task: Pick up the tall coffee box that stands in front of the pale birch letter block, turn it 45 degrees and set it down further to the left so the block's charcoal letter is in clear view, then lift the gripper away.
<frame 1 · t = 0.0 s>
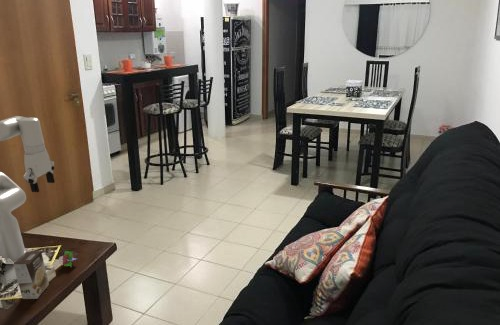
hand: (43, 187, 167), 37 cm above the table, tool pointing down, fingers open, 9 cm apart
letter block: (47, 278, 168), on the table
geometric puzzle: (69, 265, 177), on the table
coffee box: (36, 292, 160), on the table
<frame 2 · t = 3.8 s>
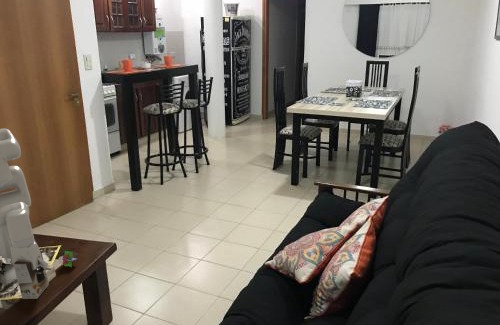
hand: (33, 279, 158), 6 cm above the table, tool pointing down, fingers closed on coffee box, 7 cm apart
coffee box: (36, 292, 160), on the table, touching gripper
everything else where it was.
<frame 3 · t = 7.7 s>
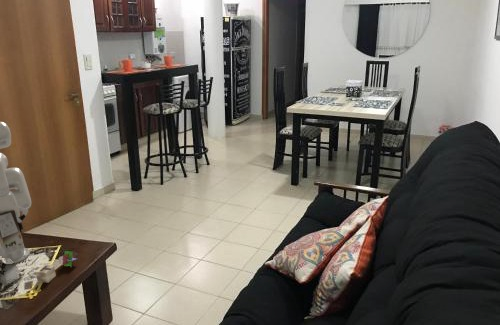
hand: (9, 233, 152), 26 cm above the table, tool pointing down, fingers closed on coffee box, 7 cm apart
coffee box: (12, 247, 154), point 20 cm above the table, touching gripper
everything else where it was.
when the fingers open (7 cm above the table, at t = 11.4 s): coffee box drops 2 cm, on the table.
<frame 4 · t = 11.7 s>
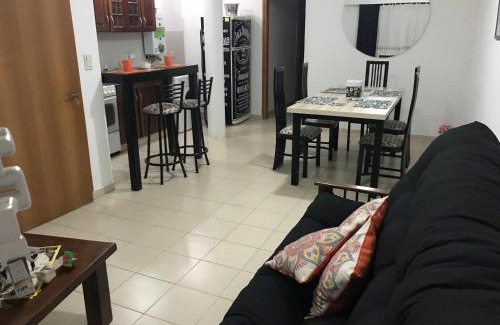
hand: (19, 273, 158), 8 cm above the table, tool pointing down, fingers open, 9 cm apart
coffee box: (24, 290, 161), on the table
everything else where it was.
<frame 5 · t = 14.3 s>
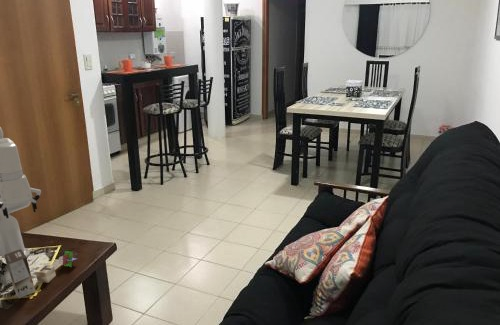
hand: (21, 213, 160), 30 cm above the table, tool pointing down, fingers open, 9 cm apart
nothing on the table moved.
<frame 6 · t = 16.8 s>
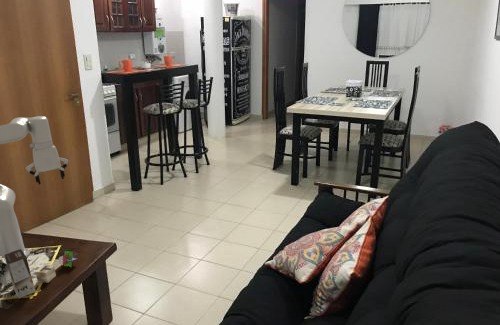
hand: (51, 180, 180), 34 cm above the table, tool pointing down, fingers open, 9 cm apart
nothing on the table moved.
at the end: coffee box inside the target area (0.1 cm from its centre), on the table; coffee box tilted 0°; letter block moved 0.1 cm from its start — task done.
